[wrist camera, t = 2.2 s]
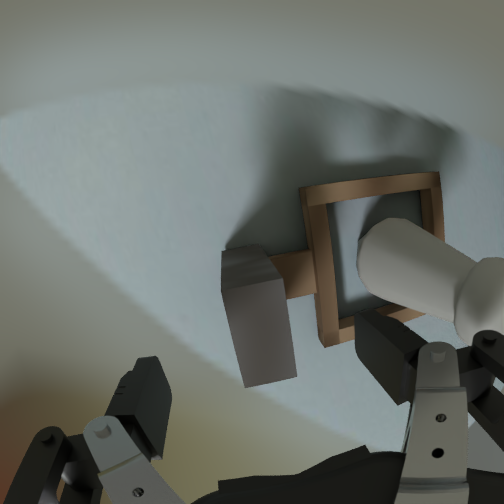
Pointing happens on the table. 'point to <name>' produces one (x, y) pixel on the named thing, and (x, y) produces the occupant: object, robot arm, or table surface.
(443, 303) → the salt shaker
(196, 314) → the table surface
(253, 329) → the frame
